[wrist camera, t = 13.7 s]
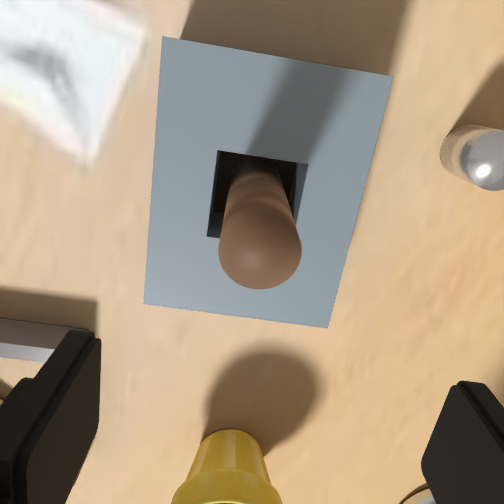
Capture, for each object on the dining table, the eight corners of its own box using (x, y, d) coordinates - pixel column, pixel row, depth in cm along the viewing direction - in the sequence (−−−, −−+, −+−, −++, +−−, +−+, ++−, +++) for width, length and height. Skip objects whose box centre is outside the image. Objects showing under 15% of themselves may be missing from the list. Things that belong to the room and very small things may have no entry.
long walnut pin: (284, 161, 34) (309, 219, 20) (275, 209, 35) (293, 294, 21) (234, 153, 33) (224, 206, 20) (227, 202, 35) (213, 283, 21)
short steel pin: (499, 128, 33) (540, 136, 28) (480, 179, 34) (516, 194, 30) (449, 120, 33) (482, 126, 28) (433, 171, 34) (462, 186, 29)
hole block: (367, 76, 31) (393, 76, 26) (316, 291, 38) (327, 328, 32) (178, 43, 30) (162, 36, 25) (159, 270, 37) (143, 304, 32)
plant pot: (227, 396, 42) (221, 482, 33) (299, 449, 45) (311, 543, 36) (161, 452, 45) (138, 546, 36) (232, 500, 48) (228, 598, 39)
